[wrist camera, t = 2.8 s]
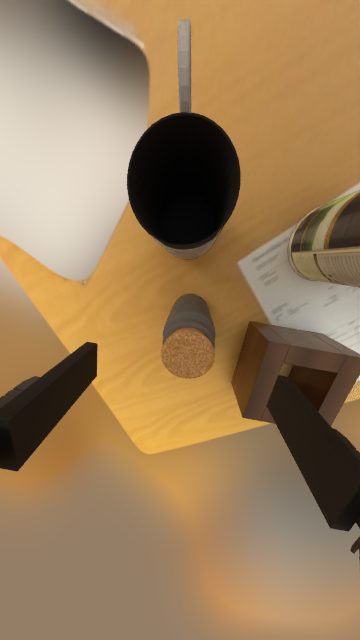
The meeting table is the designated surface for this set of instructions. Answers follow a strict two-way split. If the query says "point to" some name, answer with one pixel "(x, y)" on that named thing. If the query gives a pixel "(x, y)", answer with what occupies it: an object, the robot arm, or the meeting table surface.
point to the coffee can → (329, 243)
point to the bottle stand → (307, 374)
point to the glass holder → (184, 172)
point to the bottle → (189, 338)
